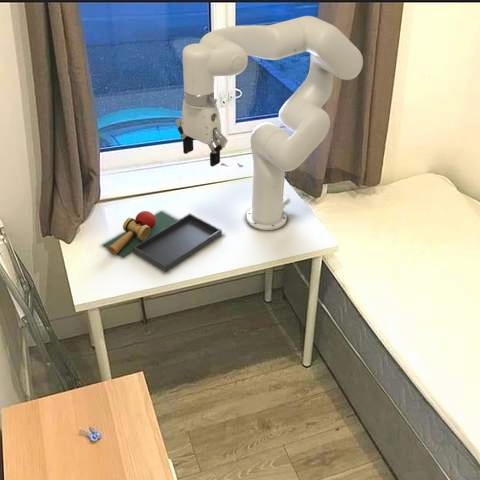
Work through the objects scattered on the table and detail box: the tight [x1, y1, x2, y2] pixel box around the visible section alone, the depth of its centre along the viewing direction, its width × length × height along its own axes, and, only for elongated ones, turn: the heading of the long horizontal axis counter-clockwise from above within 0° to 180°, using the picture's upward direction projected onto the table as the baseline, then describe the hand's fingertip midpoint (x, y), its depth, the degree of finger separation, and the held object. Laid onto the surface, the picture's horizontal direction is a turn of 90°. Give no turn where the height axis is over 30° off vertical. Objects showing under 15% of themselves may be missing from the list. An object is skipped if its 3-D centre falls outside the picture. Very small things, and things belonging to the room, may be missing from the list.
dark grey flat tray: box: [132, 212, 223, 273], centre depth 176 cm, size 23×13×2 cm, turn 142°
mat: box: [103, 211, 179, 258], centre depth 180 cm, size 23×8×1 cm, turn 142°
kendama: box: [107, 210, 156, 256], centre depth 175 cm, size 8×6×18 cm
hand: (201, 158), depth 160 cm, fingers open, 9 cm apart
